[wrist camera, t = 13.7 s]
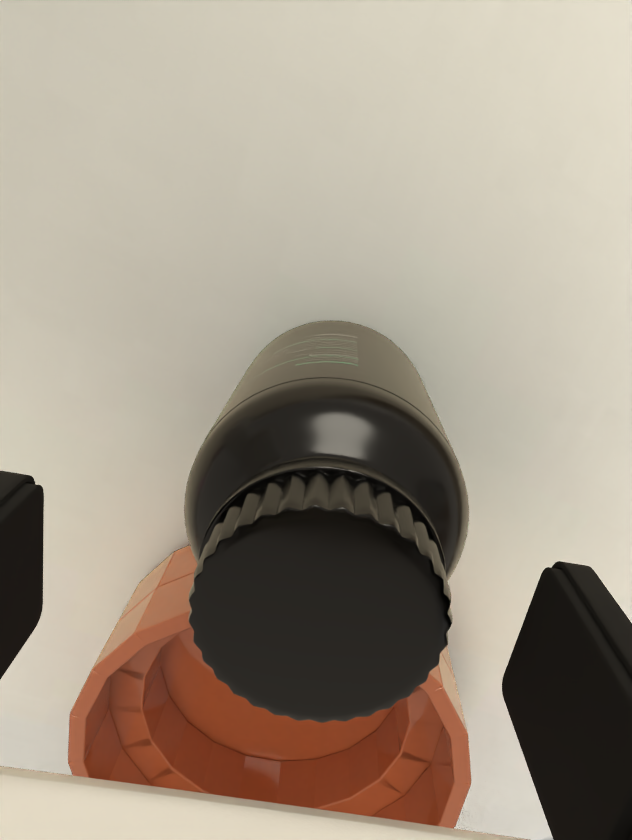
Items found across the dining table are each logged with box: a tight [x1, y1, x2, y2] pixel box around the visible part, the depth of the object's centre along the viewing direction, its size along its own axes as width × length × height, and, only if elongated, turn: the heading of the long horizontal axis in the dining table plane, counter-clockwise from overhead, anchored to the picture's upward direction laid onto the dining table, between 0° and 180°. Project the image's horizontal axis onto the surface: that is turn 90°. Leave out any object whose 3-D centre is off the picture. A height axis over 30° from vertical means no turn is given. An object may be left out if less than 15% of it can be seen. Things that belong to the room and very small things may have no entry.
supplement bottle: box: [184, 321, 469, 723], centre depth 16 cm, size 7×7×12 cm
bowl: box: [68, 545, 471, 828], centre depth 23 cm, size 14×14×6 cm
